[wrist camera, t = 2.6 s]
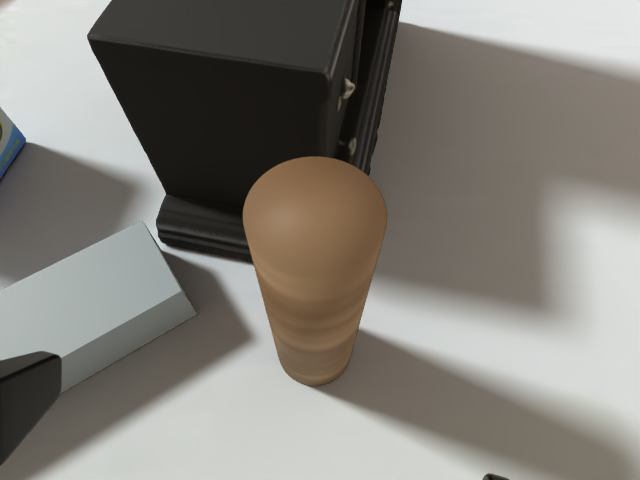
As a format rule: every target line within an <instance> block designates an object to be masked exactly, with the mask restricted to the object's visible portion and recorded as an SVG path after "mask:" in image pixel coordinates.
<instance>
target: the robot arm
mask: <svg viewBox="0 0 640 480" xmlns="http://www.w3.org/2000/svg"><path fill="white" fill-rule="evenodd" d="M61 388H62V359H61V357H60V356H59V355H57V354H53V353H50V352H46V351H37V352H33V353H29V354H25V355H21V356H17V357H13V358H8V359H4V360H0V466H1V465H2V464H3V463H4V462H5V461H6V459H7V458H8V457H9V456H10V455H11V454H12V453H13V452H14V450H15V449H16V448H17V447H18V446H19V444H20V443H21V442H22V441H23V440H24V438H25V437H26V436H27V435H28V434H29V432H30V431H31V430H32V429H33V428H34V426H35V425H36V424H37V423H38V422H39V420H40V419H41V418H42V417H43V416H44V414H45V413H46V412H47V411H48V410H49V408H50V407H51V406H52V405H53V404H54V402H55V401H56V400H57V398H58V397H59V395H60V392H61ZM483 480H509V479H508V478H505V477H501V476H498V475H494V474H490V473H489V474H486V475H485V476H484V478H483Z"/></svg>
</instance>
